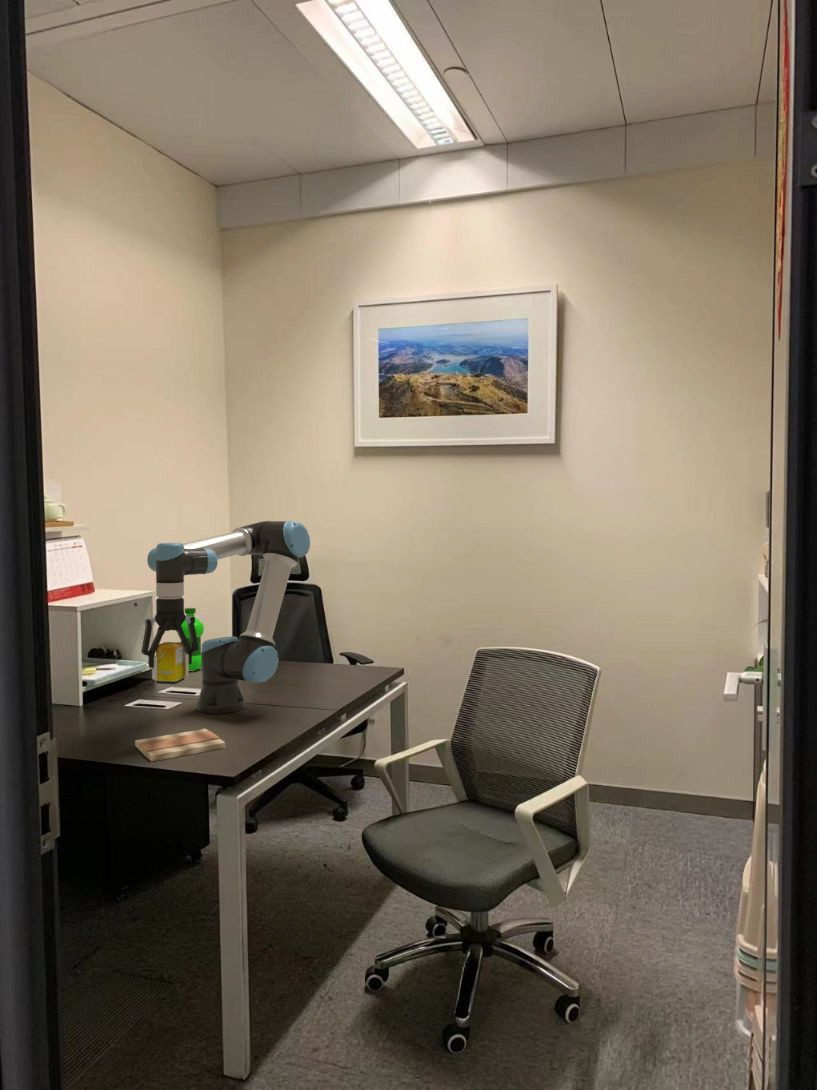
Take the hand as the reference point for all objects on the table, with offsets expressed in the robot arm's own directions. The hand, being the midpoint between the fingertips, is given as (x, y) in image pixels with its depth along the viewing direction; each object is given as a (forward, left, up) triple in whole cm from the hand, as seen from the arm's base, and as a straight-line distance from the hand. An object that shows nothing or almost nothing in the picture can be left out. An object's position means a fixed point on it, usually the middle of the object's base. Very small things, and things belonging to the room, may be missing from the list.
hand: (170, 677), depth 221 cm
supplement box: (0, 0, -1) cm, 1 cm away
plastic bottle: (-35, -88, -18) cm, 97 cm away
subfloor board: (0, +8, -18) cm, 20 cm away
